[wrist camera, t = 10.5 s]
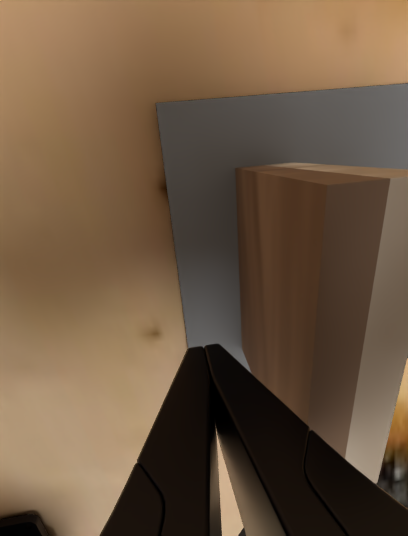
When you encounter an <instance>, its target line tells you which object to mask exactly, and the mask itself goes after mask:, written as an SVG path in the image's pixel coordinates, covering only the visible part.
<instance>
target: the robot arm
mask: <svg viewBox="0 0 408 536" xmlns="http://www.w3.org/2000/svg"><path fill="white" fill-rule="evenodd" d="M215 426H216V427H215ZM216 431H217V435H218V439H219V443H220V447H221V450H222V454H223V457H224V460H225V464H226V467H227V471H228V474H229V478H230V481H231V484H232V488H233V491H234V495H235V498H236V502H237V505H238V509H239V512H240V515H241V519H242V522H243V526H244V529H245V533H246V536H408V509H407V508H406V507H404V506H403V505H402V504H401V503H399V502H398V501H397V500H395V499H394V498H393V497H392V496H390V495H389V494H388V493H386V492H385V491H384V490H382V489H381V488H380V487H379V486H377V485H376V484H375V483H374V482H372V481H371V480H370V479H369V478H368V477H366V476H365V475H364V474H363V473H361V472H360V471H359V470H358V469H356V468H355V467H354V466H353V465H351V464H350V463H349V462H348V461H347V460H346V459H345V458H343V457H342V456H341V455H340V454H339V453H338V452H337V451H335V450H334V449H333V448H332V447H331V446H330V445H329V444H328V443H326V442H325V441H324V440H323V439H322V438H321V437H320V436H319V435H318V434H317V433H316V432H315V431H313V430H310V427H309V426H308V425H307V424H306V423H305V422H304V421H302V420H301V419H300V418H299V417H298V416H297V415H296V414H295V413H294V412H293V411H292V410H291V409H289V408H288V407H287V406H286V405H285V404H284V403H283V402H282V401H281V400H280V399H279V398H278V397H276V396H275V395H274V394H273V393H272V392H271V391H270V390H269V389H268V388H267V387H266V386H265V385H263V384H262V383H261V382H260V381H259V380H258V379H257V378H256V377H255V376H254V375H253V374H252V373H250V372H249V371H248V370H247V369H246V368H245V367H244V366H243V365H242V364H241V363H240V362H239V361H237V360H236V359H235V358H234V357H233V356H232V355H231V354H230V353H229V352H228V351H227V350H226V349H224V348H223V347H222V346H221V345H220V344H218V343H216V344H209V345H205V346H204V348H203V346H197V347H190V348H188V349H187V351H186V354H185V356H184V358H183V360H182V362H181V365H180V367H179V369H178V371H177V373H176V376H175V378H174V380H173V382H172V384H171V386H170V389H169V391H168V393H167V395H166V397H165V400H164V402H163V404H162V406H161V408H160V411H159V413H158V415H157V417H156V419H155V422H154V424H153V426H152V428H151V430H150V433H149V435H148V437H147V439H146V441H145V444H144V446H143V448H142V450H141V452H140V455H139V457H138V459H137V463H136V464H135V465H134V467H133V470H132V472H131V474H130V476H129V478H128V481H127V483H126V485H125V487H124V489H123V491H122V493H121V495H120V497H119V499H118V501H117V503H116V505H115V507H114V509H113V512H112V514H111V516H110V517H109V519H108V521H107V523H106V525H105V526H104V528H103V530H102V532H101V534H100V536H222V530H221V510H220V491H219V471H218V451H217V436H216ZM0 536H48V534H47V532H46V530H45V528H44V526H43V524H42V522H41V520H40V518H39V517H38V516H36V515H33V514H29V515H24V516H19V517H13V518H8V519H3V520H0Z"/></svg>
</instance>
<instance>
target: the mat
mask: <svg viewBox="0 0 408 536" xmlns="http://www.w3.org/2000/svg"><path fill="white" fill-rule="evenodd" d="M156 110H157V117H158V125H159V132H160V140H161V147H162V155H163V162H164V170H165V177H166V185H167V192H168V200H169V207H170V215H171V222H172V230H173V238H174V245H175V253H176V260H177V268H178V275H179V283H180V290H181V298H182V305H183V313H184V320H185V328H186V335H187V343H188V348H190V347H197V346H203V348H204V346H205V345H209V344H216V343H218V344H220V345H221V346H222V347H223V348H224V349H226V350H227V351H228V352H229V353H230V354H231V355H232V356H233V357H234V358H235V359H236V360H237V361H239V362H240V363H241V364H242V365H243V366H244V367H245V368H246V369H247V370H248V371H249V372H250V373H251V370H250V368H249V365H248V363H247V360H246V358H245V355H244V353H243V350H242V336H241V309H240V283H239V256H238V229H237V202H236V175H235V168H239V167H250V166H261V165H271V164H282V163H309V164H325V165H341V166H358V167H374V168H391V169H407V170H408V83H406V84H393V85H380V86H367V87H354V88H342V89H329V90H316V91H303V92H290V93H278V94H265V95H252V96H239V97H226V98H214V99H201V100H188V101H175V102H162V103H156ZM407 358H408V356H407Z"/></svg>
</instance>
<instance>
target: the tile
mask: <svg viewBox="0 0 408 536" xmlns="http://www.w3.org/2000/svg"><path fill="white" fill-rule="evenodd" d="M235 175H236V202H237V229H238V256H239V283H240V309H241V336H242V350H243V353H244V355H245V358H246V360H247V363H248V365H249V368H250V370H251V373H252V374H253V375H254V376H255V377H256V378H257V379H258V380H259V381H260V382H261V383H262V384H263V385H265V386H266V387H267V388H268V389H269V390H270V391H271V392H272V393H273V394H274V395H275V396H276V397H278V398H279V399H280V400H281V401H282V402H283V403H284V404H285V405H286V406H287V407H288V408H289V409H291V410H292V411H293V412H294V413H295V414H296V415H297V416H298V417H299V418H300V419H301V420H302V421H304V422H305V423H306V424H307V425H308V426H309V427H310V430H313V431H315V432H316V433H317V434H318V435H319V436H320V437H321V438H322V439H323V440H324V441H325V442H326V443H328V444H329V445H330V446H331V447H332V448H333V449H334V450H335V451H337V452H338V453H339V454H340V455H341V456H342V457H343V458H345V459H346V460H347V461H348V462H349V463H350V464H351V465H353V466H354V467H355V468H356V469H358V470H359V471H360V472H361V473H363V474H364V475H365V476H366V477H368V478H369V479H370V480H371V481H372V482H374V483H377V481H378V477H379V473H380V469H381V465H382V460H383V456H384V452H385V448H386V444H387V439H388V435H389V431H390V427H391V423H392V419H393V414H394V410H395V406H396V402H397V398H398V394H399V389H400V385H401V381H402V377H403V373H404V368H405V364H406V360H407V356H408V170H407V169H391V168H374V167H358V166H341V165H325V164H309V163H282V164H271V165H261V166H250V167H239V168H235Z"/></svg>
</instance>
